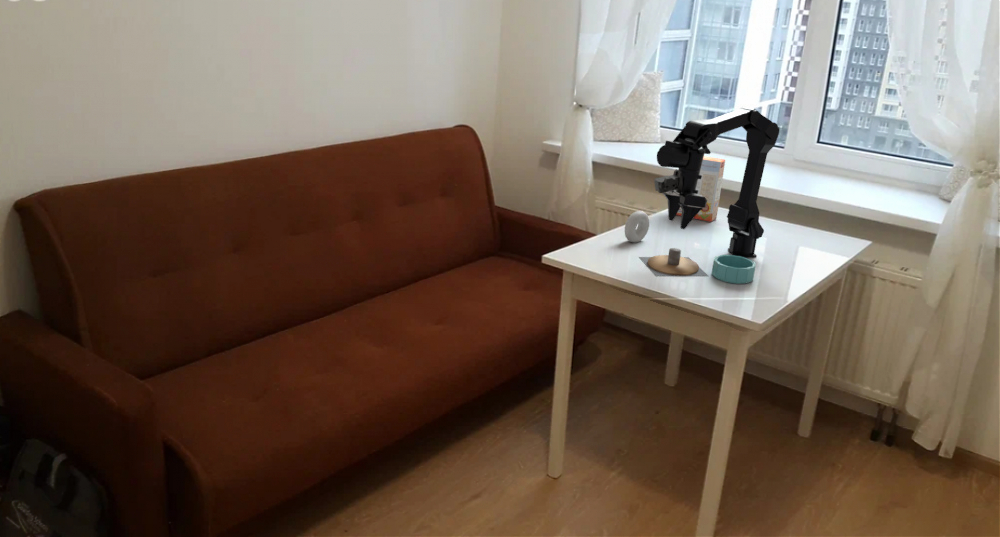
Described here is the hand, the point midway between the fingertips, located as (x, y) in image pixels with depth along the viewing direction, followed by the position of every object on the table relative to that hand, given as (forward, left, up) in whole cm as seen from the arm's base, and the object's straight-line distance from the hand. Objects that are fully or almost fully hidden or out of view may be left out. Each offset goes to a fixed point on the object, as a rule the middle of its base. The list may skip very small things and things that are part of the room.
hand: (676, 224), depth 208 cm
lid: (0, +1, -12) cm, 12 cm away
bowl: (-14, +9, -13) cm, 21 cm away
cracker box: (-26, -49, -13) cm, 57 cm away
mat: (0, +1, -12) cm, 12 cm away
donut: (+4, -21, -13) cm, 25 cm away
